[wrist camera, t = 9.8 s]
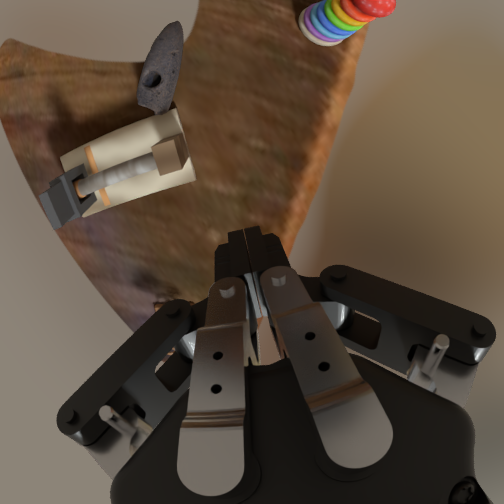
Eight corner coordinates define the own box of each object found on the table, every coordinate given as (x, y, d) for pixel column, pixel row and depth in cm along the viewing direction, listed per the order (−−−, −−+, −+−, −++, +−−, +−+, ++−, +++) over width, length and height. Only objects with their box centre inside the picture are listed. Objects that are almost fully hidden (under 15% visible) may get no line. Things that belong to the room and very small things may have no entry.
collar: (69, 169, 33) (33, 192, 25) (83, 163, 33) (48, 184, 24) (83, 205, 37) (52, 236, 28) (97, 199, 37) (68, 229, 28)
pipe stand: (63, 155, 36) (33, 170, 28) (177, 108, 36) (165, 109, 28) (85, 214, 42) (62, 240, 34) (196, 178, 42) (190, 198, 34)
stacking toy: (321, 55, 33) (385, 34, 17) (286, 21, 30) (331, -23, 14) (352, 33, 31) (422, 10, 15) (320, -1, 27) (376, -42, 11)
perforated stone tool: (164, 24, 28) (155, 12, 22) (197, 28, 29) (193, 15, 23) (140, 110, 35) (126, 112, 29) (171, 115, 36) (162, 117, 30)
